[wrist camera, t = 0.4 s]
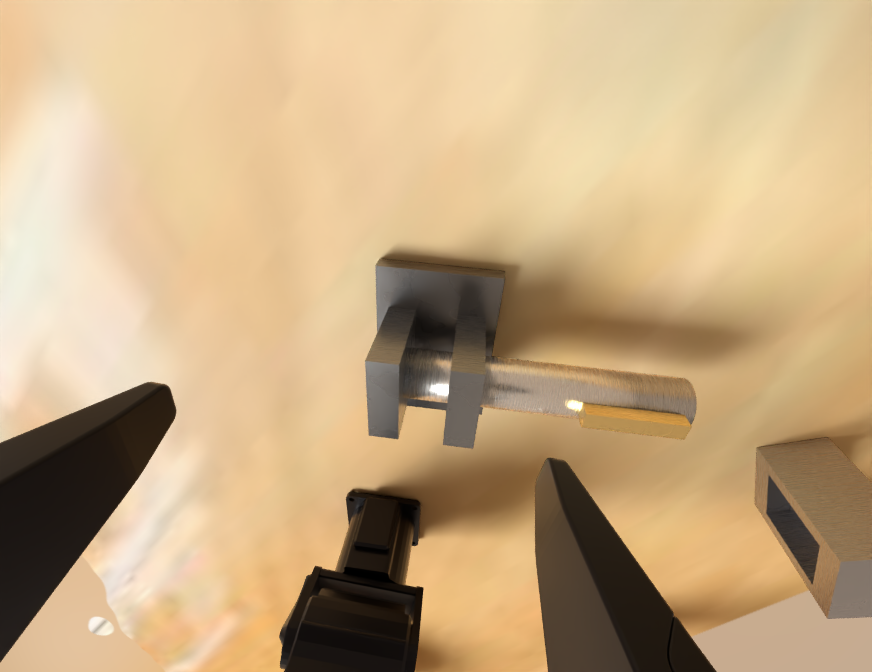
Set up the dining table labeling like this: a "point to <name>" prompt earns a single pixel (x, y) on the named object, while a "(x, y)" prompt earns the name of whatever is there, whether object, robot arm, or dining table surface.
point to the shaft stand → (492, 364)
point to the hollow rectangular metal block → (820, 521)
